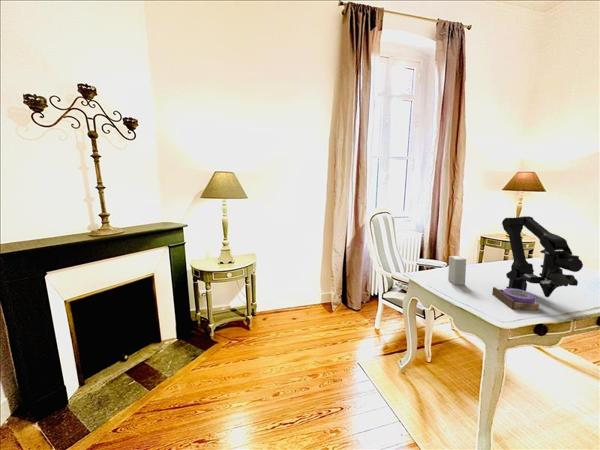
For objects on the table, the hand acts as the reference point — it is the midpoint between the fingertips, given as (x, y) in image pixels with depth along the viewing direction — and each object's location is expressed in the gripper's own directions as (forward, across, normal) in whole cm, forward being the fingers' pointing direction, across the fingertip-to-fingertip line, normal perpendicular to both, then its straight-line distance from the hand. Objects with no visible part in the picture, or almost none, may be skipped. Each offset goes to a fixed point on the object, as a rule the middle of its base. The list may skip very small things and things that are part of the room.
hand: (546, 297), depth 121 cm
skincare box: (+4, -30, +23) cm, 38 cm away
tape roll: (+4, -12, 0) cm, 12 cm away
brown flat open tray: (+4, -13, 0) cm, 14 cm away
